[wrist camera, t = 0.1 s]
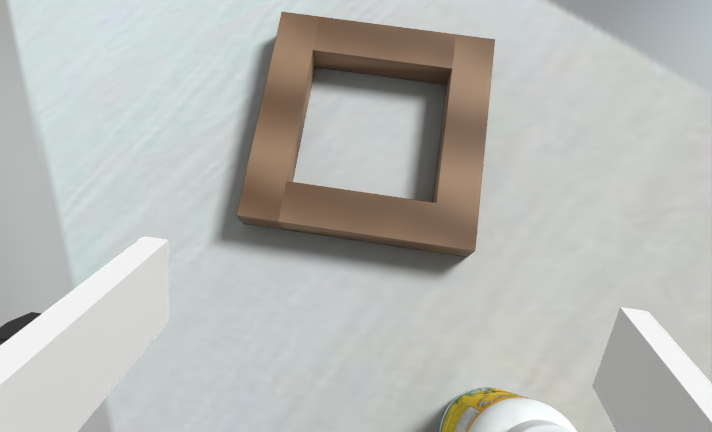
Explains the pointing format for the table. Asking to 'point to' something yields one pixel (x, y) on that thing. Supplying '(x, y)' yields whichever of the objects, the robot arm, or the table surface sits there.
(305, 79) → the holder frame
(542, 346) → the table surface
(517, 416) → the supplement bottle
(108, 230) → the table surface
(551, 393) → the table surface
